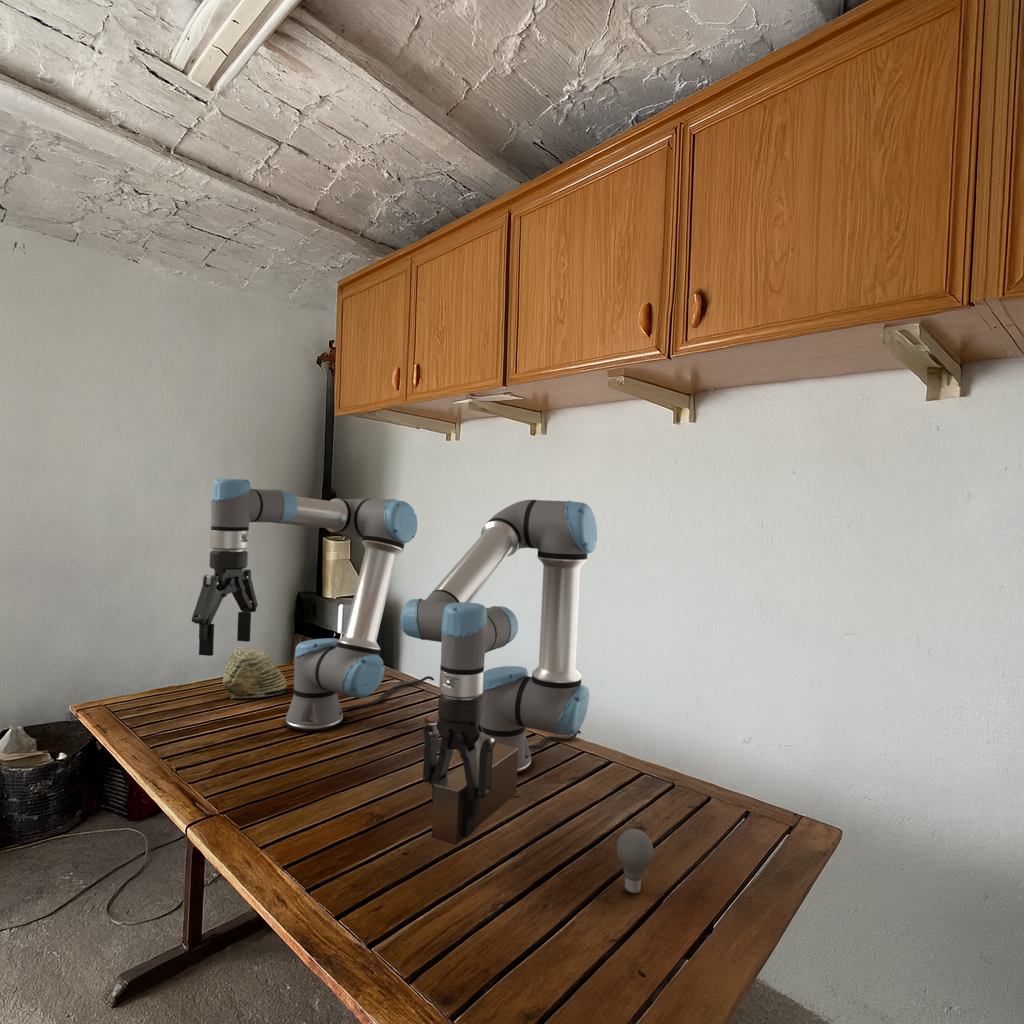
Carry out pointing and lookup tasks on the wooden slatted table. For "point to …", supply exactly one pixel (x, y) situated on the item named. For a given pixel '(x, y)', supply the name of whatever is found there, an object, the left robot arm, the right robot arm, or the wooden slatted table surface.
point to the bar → (455, 790)
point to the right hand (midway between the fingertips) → (454, 829)
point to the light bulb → (634, 857)
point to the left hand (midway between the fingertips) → (225, 647)
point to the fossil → (252, 674)
